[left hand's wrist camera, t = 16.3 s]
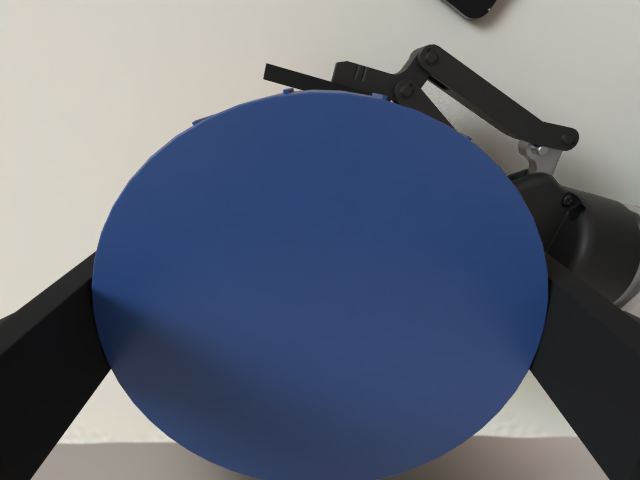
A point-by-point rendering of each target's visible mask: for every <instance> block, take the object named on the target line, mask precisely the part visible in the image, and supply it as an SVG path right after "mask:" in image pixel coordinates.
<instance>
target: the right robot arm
mask: <svg viewBox="0 0 640 480" xmlns="http://www.w3.org/2000/svg"><path fill="white" fill-rule="evenodd" d="M263 79H265V80H268V81H272V82H275V83H279V84H282V85H286V86H289V87H293V88H297V89H300V90H304V91H305V90H338V91H347V92H352V93H358V94H364V95H370V96H372V93H376V94H381V95H385V96H387V101H391V100H392V101H393V102H394V103H396V104H399V105H402V106H405V107H408V108H411V109H414V110H417V111H419V112H422V113H424V114H426V115H428V116H430V117H432V118H434V119H436V120H438V121H440V122H442V123H444V124H446V125H448V126H450V127H451V128H453V129H454V127H453V126H452V125H451V124H450V123H449V122H448V120H447V119H446V118H445V117H444V116H443V114H442V113H441V112H440V111H439V110H438V109H437V107H436V106H435V105H434V104H433V103H432V101H431V100H430V99H429V98H428V97H427V95H426V94H425V93H424V92H423V91H422V90H421V87H422V86H423V85H424V83H425V82H426V81H427V80H428V81H430V82H431V83H432V84H434V85H435V86H437V87H438V88H440V89H441V90H442V91H444V92H445V93H447V94H448V95H450V96H451V97H452V98H454V99H455V100H457V101H458V102H460V103H461V104H462V105H464V106H465V107H467V108H468V109H470V110H471V111H472V112H474V113H475V114H477V115H478V116H480V117H481V118H482V119H484V120H485V121H487V122H488V123H490V124H491V125H492V126H494V127H495V128H497V129H498V130H500V131H501V132H503V133H504V134H506V135H508V136H510V137H512V138H515V139H518V140H520V141H519V143H518V150H519V153H520V154H521V155H523V156H525V157H526V158H527V159H528V161H529V168H528V169H525V170H522V171H519V172H516V173H514V174H511V175H508V176H507V177H508V178H509V179H510V181H511V182H512V183H513V185H514V186H515V187H516V188H517V190H518V191H519V192H520V194H521V196H522V198H523V200H524V202H525V203H526V205H527V207H528V209H529V211H530V213H531V214H532V216H533V218H534V221H535V224H536V227H537V229H538V232H539V235H540V238H541V241H542V244H543V248H544V252H546V253H547V254H548V255H550V256H551V257H552V258H554V259H555V260H556V261H558V262H559V263H560V264H562V265H563V266H564V267H566V268H567V269H568V270H569V271H571V272H572V273H573V274H575V275H576V276H577V277H579V278H580V279H581V280H583V281H584V282H585V283H587V284H588V285H589V286H591V287H592V288H593V289H595V290H596V291H597V292H599V293H600V294H601V295H602V296H604V297H605V298H606V299H608V300H609V301H610V302H612V303H613V304H614V305H616V306H617V307H618V308H620V309H621V310H622V311H627V312H629V313H631V314H633V315H635V316H637V317H639V318H640V208H639V207H636V206H632V205H627V204H621V203H619V202H617V201H614V200H611V199H607V198H604V197H600V196H597V195H593V194H589V193H586V192H582V191H579V190H575V189H571V188H568V187H564V186H561V185H560V184H559V183H558V182H557V181H556V180H555V178H554V177H552V174H553V172H554V169H555V167H556V165H557V162H558V160H559V158H560V155H561V153H562V151H568V150H570V149H572V148H573V147H575V146H576V144H577V143H578V140H579V134H578V132H577V131H576V130H575V129H573V128H569V127H565V126H560V125H555V124H551V123H546V122H542V121H541V120H540V119H538V118H537V117H536V116H534V115H533V114H531V113H530V112H529V111H527V110H526V109H524V108H523V107H522V106H520V105H519V104H518V103H516V102H515V101H513V100H512V99H511V98H509V97H508V96H507V95H505V94H504V93H502V92H501V91H500V90H498V89H497V88H496V87H494V86H493V85H491V84H490V83H489V82H487V81H486V80H485V79H483V78H482V77H480V76H479V75H478V74H476V73H475V72H473V71H472V70H471V69H469V68H468V67H467V66H465V65H464V64H462V63H461V62H460V61H458V60H457V59H456V58H454V57H453V56H451V55H450V54H449V53H447V52H446V51H445V50H443V49H442V48H440V47H439V46H437V45H435V44H433V45H427V46H424V47H421V48H418V49H416V50H414V51H413V52H412V53H411V55H410V58H409V60H408V61H407V62H406V64H405V65H404V67H403V68H402V69H401V70H400V71H399V72H398V73H396V74H389V73H386V72H382V71H379V70H376V69H372V68H369V67H365V66H362V65H358V64H355V63H352V62H348V61H345V62H337V63H336V65H335V69H334V72H333V76H332V80H331V82H330V81H326V80H323V79H319V78H316V77H312V76H309V75H305V74H302V73H298V72H295V71H292V70H288V69H285V68H281V67H278V66H274V65H271V64H267V63H266V68H265V73H264V78H263ZM454 130H455V129H454ZM455 131H456V130H455Z"/></svg>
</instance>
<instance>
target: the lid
mask: <svg viewBox="0 0 640 480" xmlns="http://www.w3.org/2000/svg"><path fill="white" fill-rule="evenodd" d="M192 124H193V125H194V126H192V127H190V128H189V129H187V130H185V131H184V132H182V133H180V134H179V135H177V136H175V137H174V138H173V139H172V140H171V141H169V142H168V143H167V144H166V145H164V146H163V147H162V148H161V149H160V150H158V151H157V152H156V153H155V154H154V155H152V156H151V157H150V158H149V159H148V160H147V161H146V163H145V164H144V165H143V166H142V167H141V168H140V169H139V170H138V171H137V173H136V174H135V175H134V176H133V177H132V178H131V179H130V180H129V182H128V183H127V185H126V187H125V188H124V190H123V191H122V193H121V194H120V196H119V197H118V199H117V200H116V202H115V204H114V205H113V207H112V209H111V212H110V214H109V216H108V218H107V221H106V223H105V225H104V227H103V230H102V232H101V236H100V239H99V243H98V247H97V251H96V255H95V259H94V267H93V278H92V301H93V314H94V319H95V323H96V328H97V333H98V337H99V340H100V343H101V345H102V348H103V351H104V354H105V356H106V359H107V361H108V363H109V365H110V367H111V369H112V371H113V373H114V374H115V376H116V378H117V380H118V382H119V384H120V385H121V386H122V388H123V389H124V390H125V392H126V393H127V395H128V396H129V397H130V399H131V400H132V402H133V403H134V404H135V405H136V406H137V407H138V408H139V409H140V410H141V412H142V413H143V414H144V415H145V416H146V417H147V418H148V419H149V420H150V421H151V422H152V423H153V424H154V425H156V426H157V427H158V428H159V429H160V430H161V431H163V432H164V433H165V434H166V435H167V436H168V437H170V438H171V439H173V440H174V441H176V442H177V443H179V444H180V445H182V446H183V447H185V448H186V449H188V450H189V451H191V452H193V453H195V454H196V455H198V456H200V457H202V458H204V459H206V460H208V461H209V462H212V463H214V464H217V465H219V466H221V467H224V468H226V469H229V470H231V471H234V472H238V473H241V474H244V475H247V476H251V477H254V478H258V479H262V480H378V479H382V478H386V477H390V476H393V475H397V474H400V473H403V472H406V471H408V470H411V469H414V468H417V467H419V466H422V465H424V464H426V463H428V462H430V461H432V460H434V459H436V458H438V457H440V456H442V455H444V454H446V453H447V452H449V451H451V450H452V449H454V448H456V447H457V446H459V445H460V444H462V443H463V442H465V441H466V440H467V439H469V438H470V437H471V436H473V435H474V434H475V433H476V432H478V431H479V430H480V429H482V428H483V427H484V426H485V425H486V424H487V423H488V422H489V421H490V420H491V419H492V418H493V417H494V416H495V415H496V414H497V413H498V412H499V411H500V410H501V409H502V408H503V406H504V405H505V404H506V403H507V401H508V400H509V399H510V398H511V396H512V395H513V394H514V393H515V391H516V390H517V388H518V387H519V385H520V383H521V382H522V380H523V378H524V377H525V375H526V374H527V372H528V370H529V368H530V366H531V363H532V361H533V359H534V357H535V354H536V352H537V350H538V347H539V344H540V340H541V337H542V333H543V330H544V326H545V321H546V314H547V306H548V270H547V265H546V259H545V254H544V248H543V244H542V241H541V238H540V235H539V232H538V229H537V227H536V224H535V221H534V218H533V216H532V214H531V213H530V211H529V209H528V207H527V205H526V203H525V202H524V200H523V198H522V196H521V194H520V192H519V191H518V190H517V188H516V187H515V186H514V185H513V183H512V182H511V181H510V179H509V178H508V177H507V176H506V174H505V173H504V172H503V170H502V169H501V168H500V167H499V166H498V165H497V164H496V163H495V162H494V161H493V160H492V159H491V158H490V157H489V156H488V155H487V154H485V153H484V152H483V151H482V150H481V149H480V148H479V147H478V146H477V145H476V144H474V143H473V142H471V140H472V139H471V138H470V137H468V136H465V135H463V134H460V133H458V132H457V131H455V130H454V129H453V128H451V127H450V126H448V125H446V124H444V123H442V122H440V121H438V120H436V119H434V118H432V117H430V116H428V115H426V114H424V113H422V112H419V111H417V110H414V109H411V108H408V107H405V106H402V105H399V104H396V103H393V102H390V101H387V96H385V95H381V94H376V93H372V96H370V95H364V94H358V93H352V92H347V91H338V90H305V91H295V92H294V90H293V88H289V89H285V90H283V93H281V94H277V95H273V96H269V97H265V98H261V99H257V100H253V101H250V102H247V103H243V104H240V105H237V106H235V107H232V108H230V109H227V110H225V111H222V112H220V113H218V114H215V115H211V116H208V117H205V118H202V119H199V120H196V121H194V122H192Z"/></svg>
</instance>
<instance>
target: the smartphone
mask: <svg viewBox="0 0 640 480" xmlns="http://www.w3.org/2000/svg"><path fill="white" fill-rule="evenodd" d="M443 1H444V2H445V3H446V4H448V5H449V6H450V7H451V8H453V9H454V10H455V11H456V12H458V13H459V14H460V15H461V16H463V17H464V18H466V19H477V18H480V17H482V16H484V15H485V14H486V13H487V12H488V11H489V10H490V9H491V7H492V6H493V4H494V3H495V2H496V0H443Z"/></svg>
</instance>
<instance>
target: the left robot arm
mask: <svg viewBox="0 0 640 480" xmlns="http://www.w3.org/2000/svg"><path fill="white" fill-rule="evenodd" d="M544 254H545V259H546V265H547V270H548V306H547V314H546V321H545V326H544V330H543V333H542V337H541V340H540V344H539V347H538V350H537V352H536V354H535V357H534V359H533V361H532V363H531V366H530V368H529V369H530V371H531V372H532V374H533V375H534V376H535V378H536V379H537V380H538V382H539V383H540V385H541V386H542V387H543V389H544V390H545V391H546V393H547V394H548V396H549V397H550V398H551V400H552V401H553V402H554V404H555V405H556V407H557V408H558V409H559V411H560V412H561V413H562V415H563V416H564V418H565V419H566V420H567V422H568V423H569V424H570V426H571V427H572V429H573V430H574V431H575V433H576V434H577V435H578V437H579V438H580V440H581V441H582V442H583V444H584V445H585V446H586V448H587V449H588V451H589V452H590V453H591V455H592V456H593V457H594V459H595V460H596V462H597V463H598V464H599V466H600V467H601V468H602V470H603V471H604V473H605V474H606V475H607V477H608V478H609V479H610V480H640V318H639V317H637V316H635V315H633V314H631V313H629V312H627V311H622V310H621V309H620V308H618V307H617V306H616V305H614V304H613V303H612V302H610V301H609V300H608V299H606V298H605V297H604V296H602V295H601V294H600V293H599V292H597V291H596V290H595V289H593V288H592V287H591V286H589V285H588V284H587V283H585V282H584V281H583V280H581V279H580V278H579V277H577V276H576V275H575V274H573V273H572V272H571V271H569V270H568V269H567V268H566V267H564V266H563V265H562V264H560V263H559V262H558V261H556V260H555V259H554V258H552V257H551V256H550V255H548V254H547V253H546V252H544ZM95 255H96V252H94V253H93V254H92V255H90V256H89V257H88V258H86V259H85V260H84V261H82V262H81V263H80V264H78V265H77V266H76V267H74V268H73V269H72V270H71V271H69V272H68V273H67V274H65V275H64V276H63V277H61V278H60V279H59V280H57V281H56V282H55V283H53V284H52V285H51V286H49V287H48V288H47V289H45V290H44V291H43V292H41V293H40V294H39V295H38V296H36V297H35V298H34V299H32V300H31V301H30V302H28V303H27V304H26V305H24V306H23V307H22V308H20V309H19V310H18V311H16V312H15V313H13V314H11V315H9V316H7V317H5V318H2V319H0V480H30V479H31V478H32V477H33V475H34V474H35V472H36V471H37V470H38V468H39V467H40V466H41V464H42V463H43V462H44V460H45V459H46V457H47V456H48V455H49V453H50V452H51V451H52V449H53V448H54V446H55V445H56V444H57V442H58V441H59V440H60V438H61V437H62V435H63V434H64V433H65V431H66V430H67V429H68V427H69V426H70V424H71V423H72V422H73V420H74V419H75V418H76V416H77V415H78V413H79V412H80V411H81V409H82V408H83V407H84V405H85V404H86V402H87V401H88V400H89V398H90V397H91V396H92V394H93V393H94V391H95V390H96V389H97V387H98V386H99V385H100V383H101V382H102V380H103V379H104V378H105V376H106V375H107V374H108V372H109V371H110V369H111V367H110V365H109V363H108V361H107V359H106V356H105V354H104V351H103V348H102V345H101V343H100V340H99V337H98V333H97V328H96V323H95V319H94V314H93V301H92V278H93V267H94V259H95Z"/></svg>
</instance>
